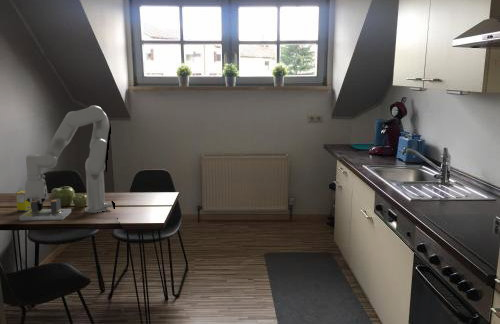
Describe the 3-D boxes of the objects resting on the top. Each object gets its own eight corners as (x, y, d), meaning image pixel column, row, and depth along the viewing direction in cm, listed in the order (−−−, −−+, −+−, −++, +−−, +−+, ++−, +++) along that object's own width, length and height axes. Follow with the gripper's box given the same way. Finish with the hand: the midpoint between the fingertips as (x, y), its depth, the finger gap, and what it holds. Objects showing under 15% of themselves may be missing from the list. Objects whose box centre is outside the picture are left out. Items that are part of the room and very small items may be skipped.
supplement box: (33, 209, 251) (32, 191, 249) (25, 212, 245) (24, 193, 244) (25, 208, 252) (23, 190, 251) (17, 211, 247) (15, 192, 245)
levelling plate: (71, 212, 246) (71, 208, 246) (62, 219, 231) (62, 215, 231) (30, 212, 244) (30, 209, 244) (19, 220, 229) (19, 216, 229)
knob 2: (62, 209, 242) (62, 198, 241) (58, 213, 236) (57, 201, 235) (53, 210, 242) (53, 198, 241) (49, 213, 235) (48, 201, 234)
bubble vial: (50, 213, 235) (50, 210, 235) (49, 214, 233) (48, 211, 233) (40, 213, 235) (40, 210, 234) (38, 214, 233) (38, 211, 232)
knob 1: (44, 210, 241) (43, 198, 240) (39, 213, 235) (38, 201, 234) (35, 210, 241) (34, 198, 240) (30, 213, 234) (29, 201, 233)
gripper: (53, 175, 239) (54, 208, 242) (22, 176, 238) (24, 208, 240) (48, 178, 232) (50, 211, 235) (16, 178, 230) (18, 212, 233)
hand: (37, 209), depth 238 cm, fingers closed on knob 1, 2 cm apart
